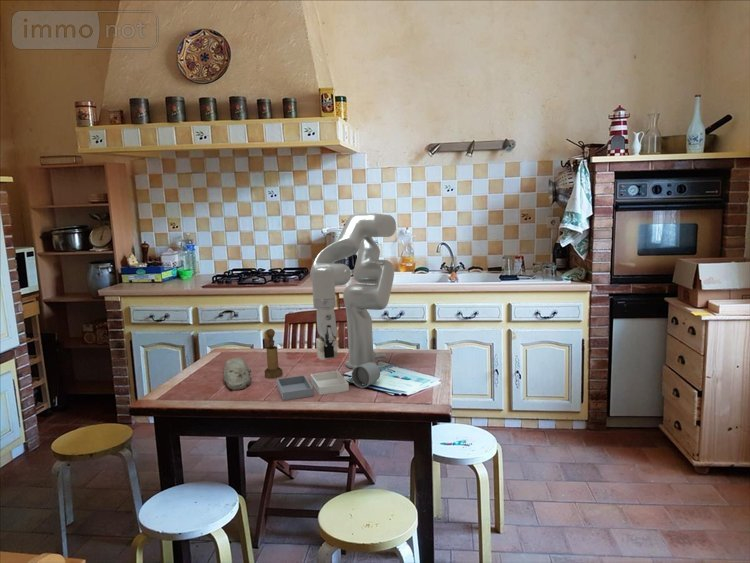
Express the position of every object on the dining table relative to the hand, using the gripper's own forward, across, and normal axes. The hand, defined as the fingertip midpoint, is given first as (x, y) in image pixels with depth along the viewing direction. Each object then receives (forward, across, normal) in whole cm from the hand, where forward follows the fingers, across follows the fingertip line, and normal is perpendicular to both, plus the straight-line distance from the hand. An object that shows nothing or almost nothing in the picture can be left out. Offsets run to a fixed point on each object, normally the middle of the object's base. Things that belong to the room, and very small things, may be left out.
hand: (327, 354), depth 191 cm
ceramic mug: (+12, -2, -12) cm, 17 cm away
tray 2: (+12, 0, 0) cm, 12 cm away
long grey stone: (+12, +26, +29) cm, 41 cm away
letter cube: (+1, 0, 0) cm, 1 cm away
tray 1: (+12, 0, +12) cm, 17 cm away
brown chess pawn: (+12, +20, +16) cm, 29 cm away
